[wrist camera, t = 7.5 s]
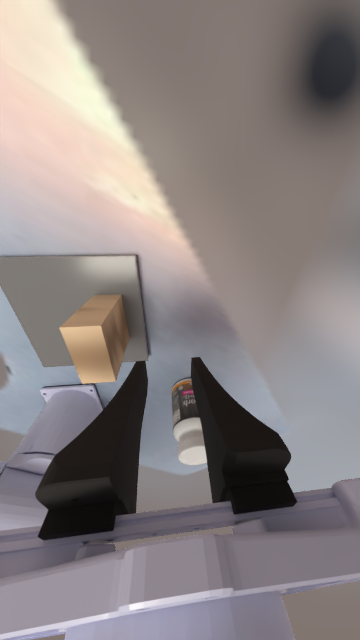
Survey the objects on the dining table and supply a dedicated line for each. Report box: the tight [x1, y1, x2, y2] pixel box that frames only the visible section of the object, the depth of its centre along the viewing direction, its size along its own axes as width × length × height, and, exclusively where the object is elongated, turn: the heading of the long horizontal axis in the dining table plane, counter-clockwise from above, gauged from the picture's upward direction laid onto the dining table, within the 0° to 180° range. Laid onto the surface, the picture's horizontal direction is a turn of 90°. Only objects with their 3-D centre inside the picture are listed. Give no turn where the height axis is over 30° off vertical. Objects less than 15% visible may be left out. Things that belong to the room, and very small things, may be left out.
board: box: [0, 255, 149, 367], centre depth 20 cm, size 14×14×1 cm
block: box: [59, 294, 129, 384], centre depth 17 cm, size 6×3×7 cm, turn 0°
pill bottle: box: [172, 378, 207, 465], centre depth 25 cm, size 6×6×10 cm
